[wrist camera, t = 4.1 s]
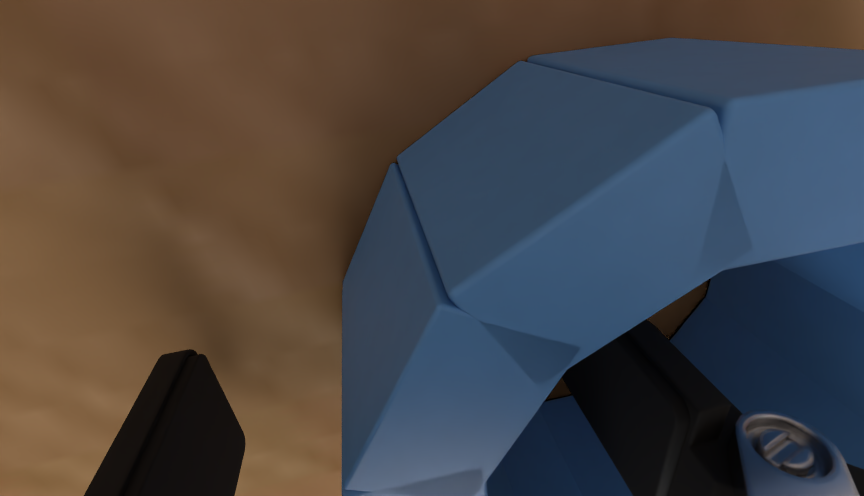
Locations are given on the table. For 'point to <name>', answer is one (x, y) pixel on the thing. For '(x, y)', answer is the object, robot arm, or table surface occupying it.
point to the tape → (606, 260)
